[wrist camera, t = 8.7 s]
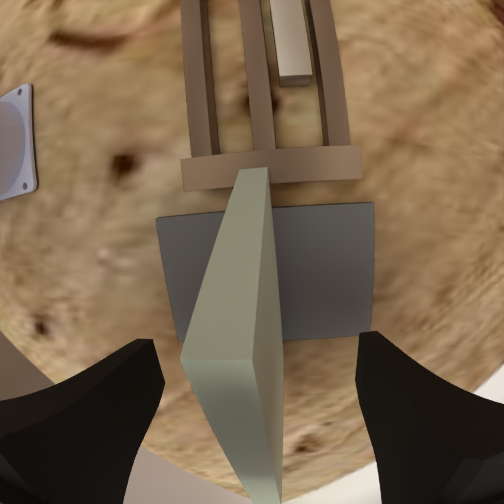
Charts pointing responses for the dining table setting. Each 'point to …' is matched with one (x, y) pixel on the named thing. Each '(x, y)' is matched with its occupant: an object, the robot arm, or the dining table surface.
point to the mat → (286, 266)
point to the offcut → (290, 43)
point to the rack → (263, 105)
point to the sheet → (242, 341)
